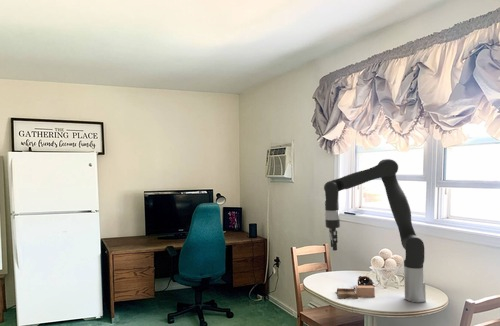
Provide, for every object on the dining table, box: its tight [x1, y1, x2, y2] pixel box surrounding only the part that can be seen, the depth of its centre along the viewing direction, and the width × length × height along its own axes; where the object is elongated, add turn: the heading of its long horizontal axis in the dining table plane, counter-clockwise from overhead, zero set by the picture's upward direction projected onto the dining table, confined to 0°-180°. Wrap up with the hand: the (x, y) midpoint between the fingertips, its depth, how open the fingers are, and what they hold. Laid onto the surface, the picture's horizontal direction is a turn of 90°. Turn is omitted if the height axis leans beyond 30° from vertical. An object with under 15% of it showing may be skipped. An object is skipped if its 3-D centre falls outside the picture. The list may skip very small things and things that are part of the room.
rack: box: [336, 287, 359, 300], centre depth 194 cm, size 10×10×2 cm
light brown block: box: [355, 285, 376, 298], centre depth 193 cm, size 9×4×5 cm, turn 84°
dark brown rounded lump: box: [357, 275, 375, 287], centre depth 204 cm, size 12×10×8 cm
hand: (333, 248), depth 192 cm, fingers open, 8 cm apart
